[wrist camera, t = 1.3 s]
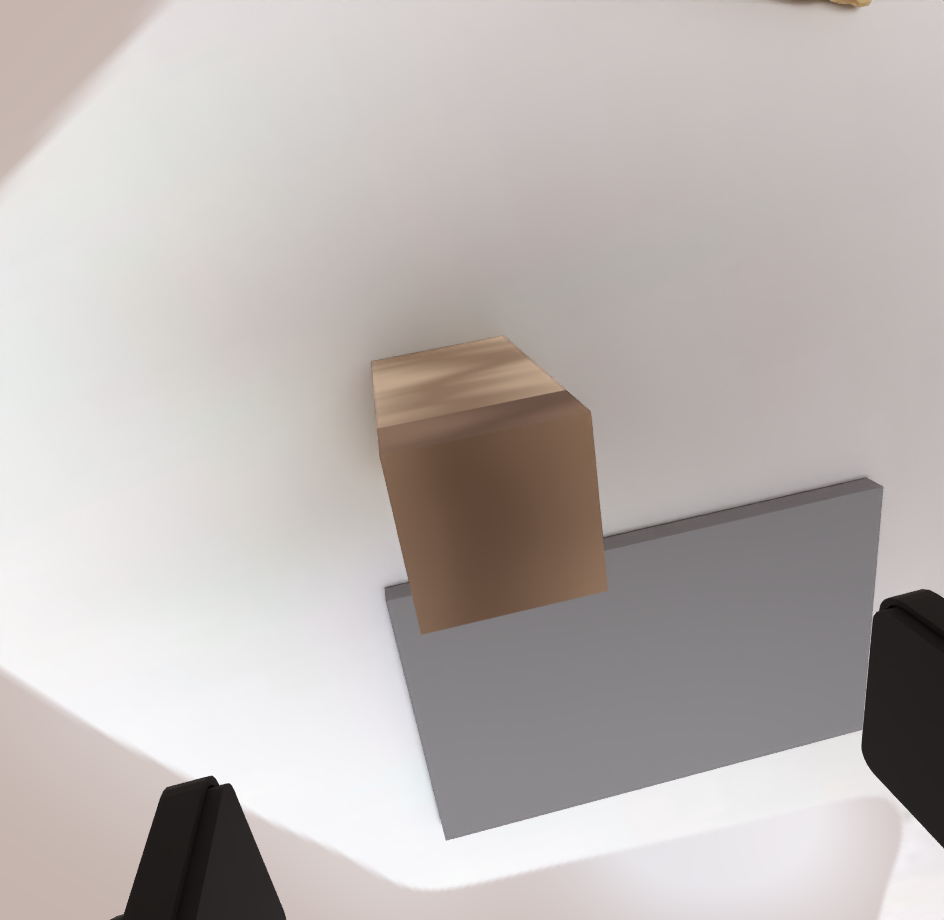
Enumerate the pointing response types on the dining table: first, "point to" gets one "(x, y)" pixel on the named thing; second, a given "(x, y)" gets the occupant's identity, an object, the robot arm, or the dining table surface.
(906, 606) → the robot arm
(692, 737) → the mat
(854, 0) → the shard
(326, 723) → the dining table surface
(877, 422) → the dining table surface
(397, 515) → the maple block
